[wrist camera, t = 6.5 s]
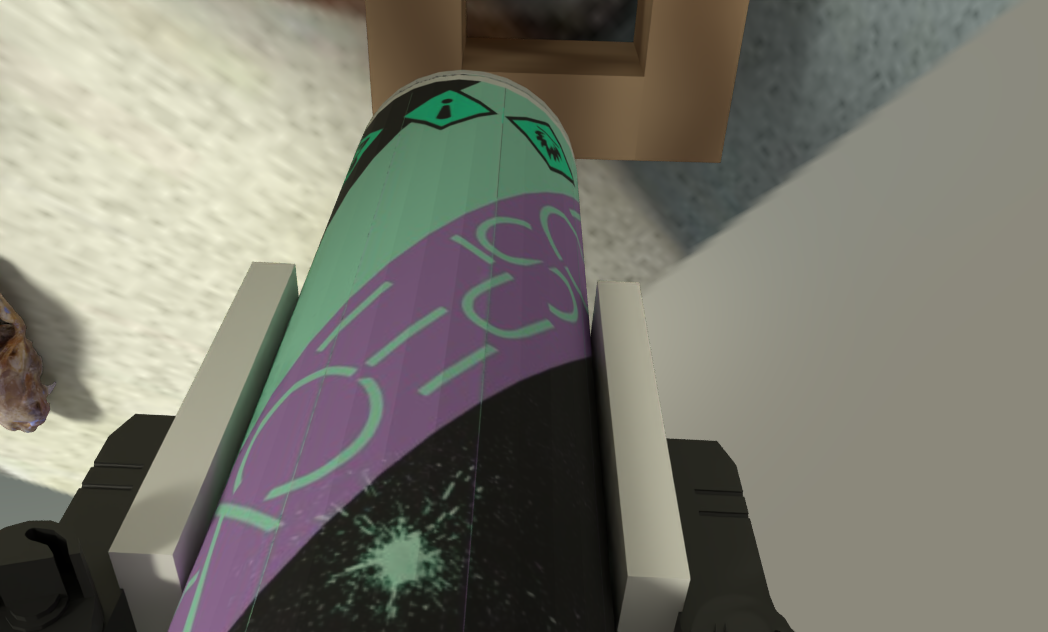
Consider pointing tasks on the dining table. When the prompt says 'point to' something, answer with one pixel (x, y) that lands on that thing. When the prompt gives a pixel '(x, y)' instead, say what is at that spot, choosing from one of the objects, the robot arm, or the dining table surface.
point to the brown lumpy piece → (20, 376)
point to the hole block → (585, 72)
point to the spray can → (427, 396)
